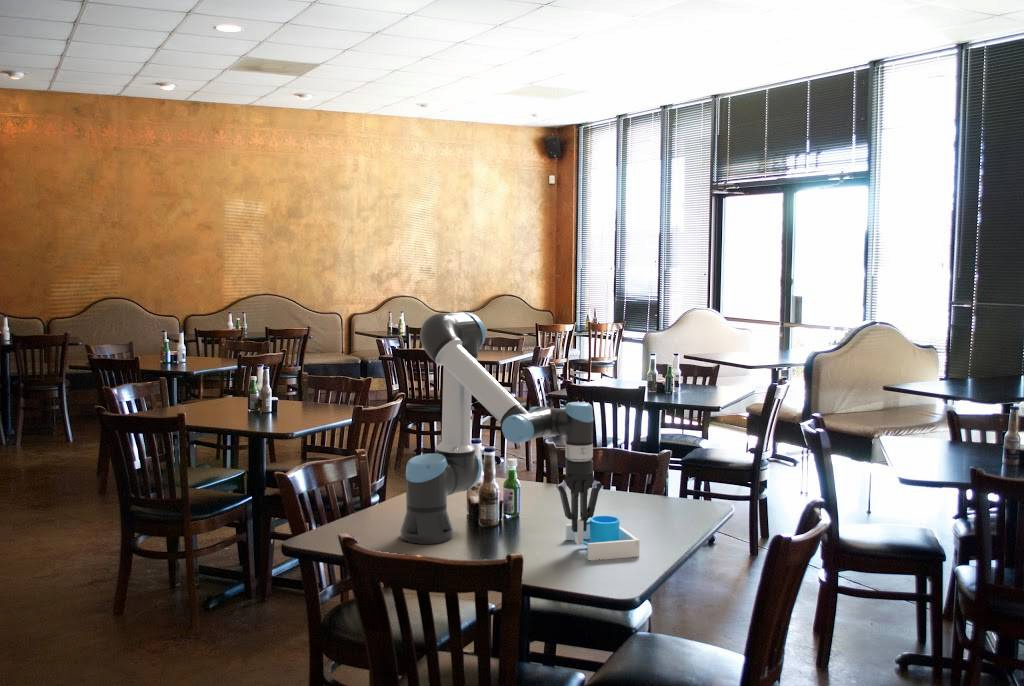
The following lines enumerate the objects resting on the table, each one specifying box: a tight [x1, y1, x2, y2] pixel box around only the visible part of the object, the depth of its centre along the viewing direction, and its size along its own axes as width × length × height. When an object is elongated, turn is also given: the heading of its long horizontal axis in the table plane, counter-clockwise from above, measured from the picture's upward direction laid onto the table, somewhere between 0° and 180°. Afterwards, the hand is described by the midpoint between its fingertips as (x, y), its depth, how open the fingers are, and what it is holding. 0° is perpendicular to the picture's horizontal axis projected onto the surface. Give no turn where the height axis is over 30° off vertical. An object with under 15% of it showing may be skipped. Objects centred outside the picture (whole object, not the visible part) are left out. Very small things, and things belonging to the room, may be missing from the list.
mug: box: [582, 515, 621, 547], centre depth 267 cm, size 12×8×8 cm
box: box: [565, 523, 641, 561], centre depth 267 cm, size 14×20×4 cm
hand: (579, 542), depth 265 cm, fingers closed
